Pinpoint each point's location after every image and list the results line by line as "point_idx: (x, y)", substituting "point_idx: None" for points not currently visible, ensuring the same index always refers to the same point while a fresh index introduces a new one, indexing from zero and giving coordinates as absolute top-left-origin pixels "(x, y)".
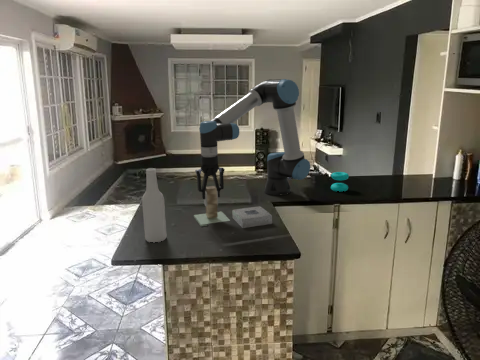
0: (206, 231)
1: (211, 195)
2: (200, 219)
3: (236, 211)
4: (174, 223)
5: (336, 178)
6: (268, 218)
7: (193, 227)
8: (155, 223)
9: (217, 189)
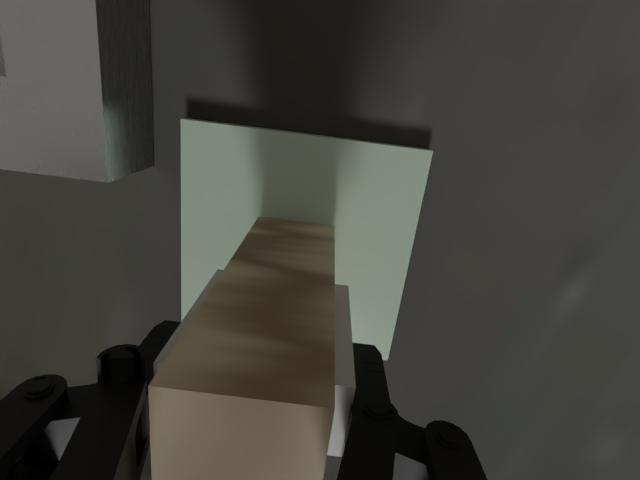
0: (439, 20)
1: (275, 324)
2: (384, 258)
3: (81, 114)
4: (556, 304)
5: None
6: None
7: (484, 163)
8: None
9: (139, 389)
